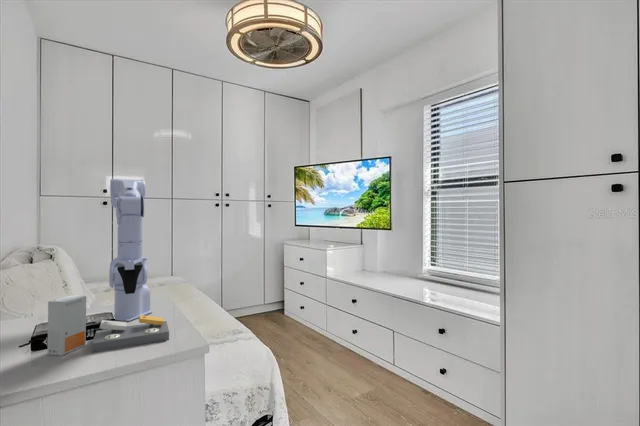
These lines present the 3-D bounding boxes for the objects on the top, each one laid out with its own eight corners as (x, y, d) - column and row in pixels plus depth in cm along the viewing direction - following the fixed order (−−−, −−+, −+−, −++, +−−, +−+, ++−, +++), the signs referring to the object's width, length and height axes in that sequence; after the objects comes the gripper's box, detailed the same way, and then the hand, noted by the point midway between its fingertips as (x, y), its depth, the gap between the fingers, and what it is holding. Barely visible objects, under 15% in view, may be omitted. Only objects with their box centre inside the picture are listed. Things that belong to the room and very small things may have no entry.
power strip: (91, 352, 75) (91, 341, 75) (96, 338, 83) (96, 328, 83) (169, 339, 83) (169, 329, 83) (166, 328, 91) (166, 318, 91)
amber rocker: (138, 322, 84) (140, 318, 84) (138, 318, 87) (140, 314, 87) (162, 325, 86) (163, 321, 87) (161, 321, 89) (162, 317, 90)
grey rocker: (99, 328, 80) (100, 324, 80) (100, 324, 83) (101, 319, 83) (125, 330, 82) (126, 325, 83) (125, 326, 85) (127, 321, 86)
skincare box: (62, 356, 73) (62, 302, 73) (46, 354, 74) (46, 301, 74) (87, 345, 79) (87, 295, 79) (72, 344, 80) (72, 294, 80)
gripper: (147, 243, 83) (147, 297, 83) (146, 239, 96) (146, 286, 96) (114, 244, 80) (114, 300, 79) (118, 240, 92) (118, 289, 92)
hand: (130, 293), depth 87 cm, fingers closed
